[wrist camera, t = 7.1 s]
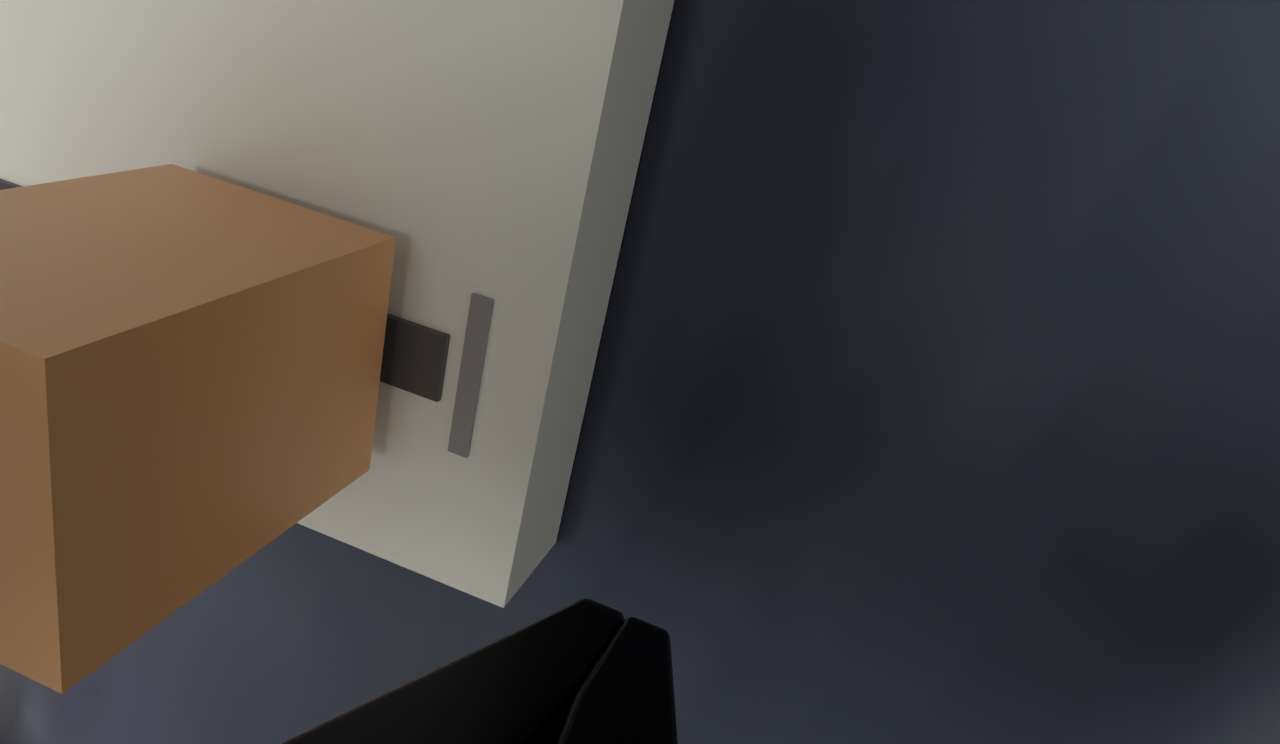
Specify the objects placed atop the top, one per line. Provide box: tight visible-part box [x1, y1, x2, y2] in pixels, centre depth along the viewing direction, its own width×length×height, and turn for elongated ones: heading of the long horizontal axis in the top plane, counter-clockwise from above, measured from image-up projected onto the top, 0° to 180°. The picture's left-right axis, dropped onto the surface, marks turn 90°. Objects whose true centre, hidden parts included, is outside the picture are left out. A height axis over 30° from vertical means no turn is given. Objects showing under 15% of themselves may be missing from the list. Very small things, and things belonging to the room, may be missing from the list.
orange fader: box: [0, 164, 396, 694], centre depth 10 cm, size 4×4×5 cm
